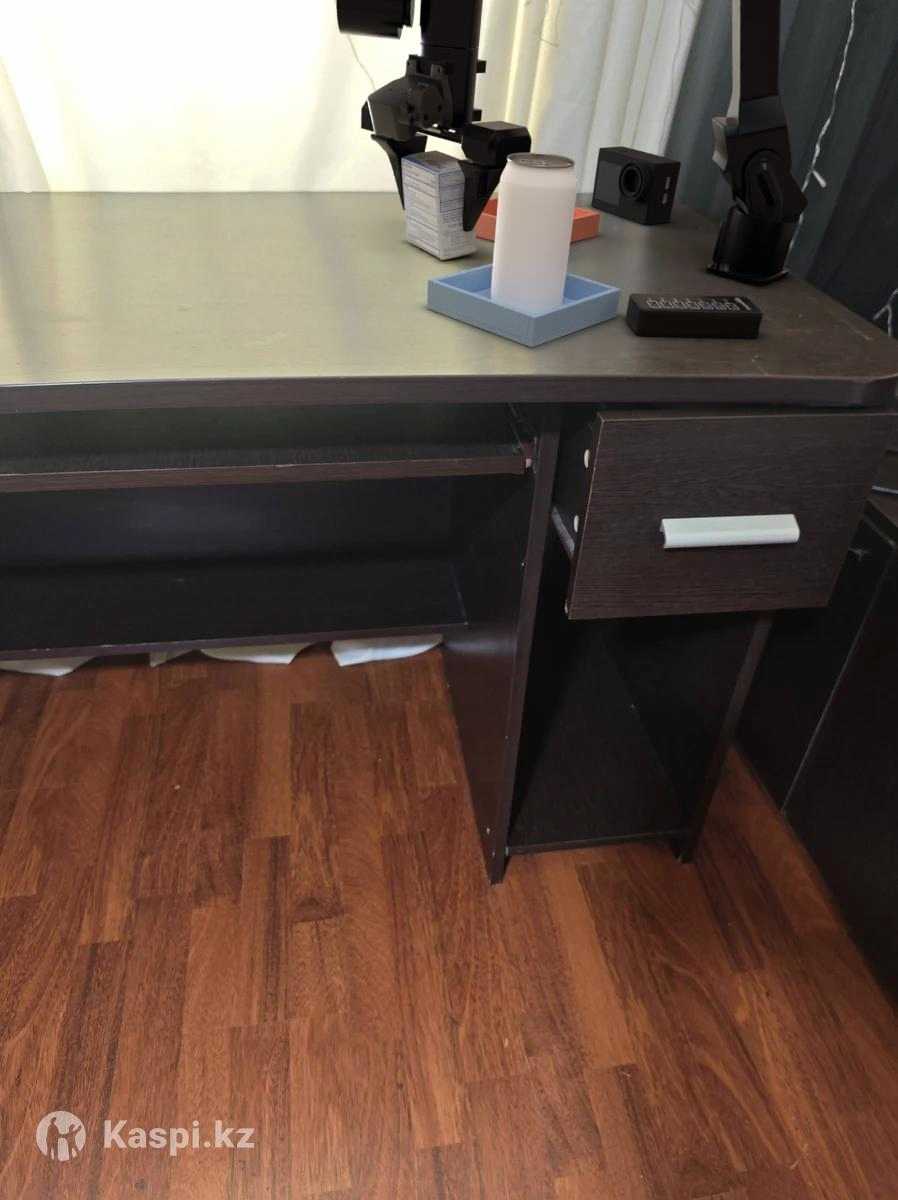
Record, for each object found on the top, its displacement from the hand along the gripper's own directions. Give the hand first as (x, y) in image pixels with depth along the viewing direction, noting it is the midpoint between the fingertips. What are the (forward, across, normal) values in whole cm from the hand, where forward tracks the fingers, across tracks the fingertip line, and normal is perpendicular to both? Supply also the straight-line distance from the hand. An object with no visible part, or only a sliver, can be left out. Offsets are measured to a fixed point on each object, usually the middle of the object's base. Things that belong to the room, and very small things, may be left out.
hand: (436, 220), depth 90 cm
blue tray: (+3, +19, -8) cm, 20 cm away
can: (+2, +19, -8) cm, 20 cm away
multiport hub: (+2, +31, +1) cm, 31 cm away
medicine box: (+3, 0, +1) cm, 3 cm away
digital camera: (+3, +2, +32) cm, 32 cm away
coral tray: (+3, +1, +14) cm, 15 cm away
